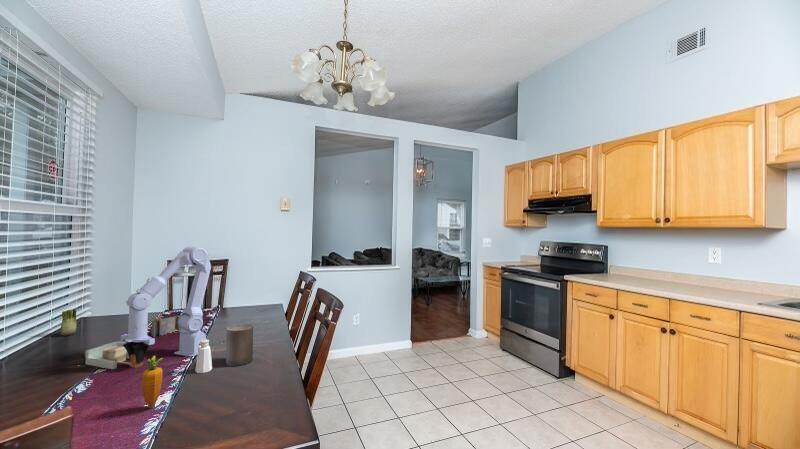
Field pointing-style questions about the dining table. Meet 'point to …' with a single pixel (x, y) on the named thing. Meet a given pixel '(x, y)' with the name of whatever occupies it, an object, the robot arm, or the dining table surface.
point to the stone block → (109, 343)
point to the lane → (96, 357)
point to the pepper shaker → (204, 357)
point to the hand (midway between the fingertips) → (136, 361)
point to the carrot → (152, 382)
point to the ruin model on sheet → (165, 325)
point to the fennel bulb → (68, 322)
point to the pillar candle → (239, 344)
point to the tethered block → (120, 356)
